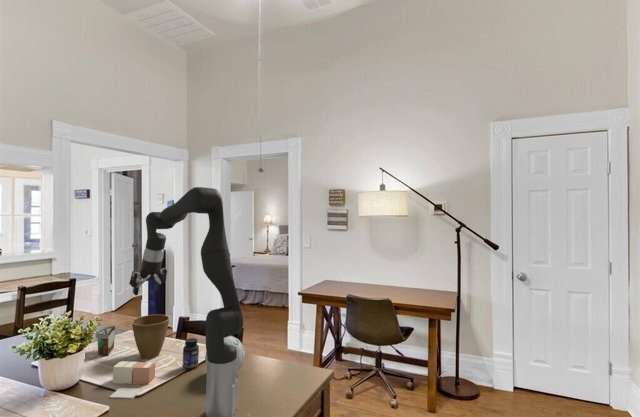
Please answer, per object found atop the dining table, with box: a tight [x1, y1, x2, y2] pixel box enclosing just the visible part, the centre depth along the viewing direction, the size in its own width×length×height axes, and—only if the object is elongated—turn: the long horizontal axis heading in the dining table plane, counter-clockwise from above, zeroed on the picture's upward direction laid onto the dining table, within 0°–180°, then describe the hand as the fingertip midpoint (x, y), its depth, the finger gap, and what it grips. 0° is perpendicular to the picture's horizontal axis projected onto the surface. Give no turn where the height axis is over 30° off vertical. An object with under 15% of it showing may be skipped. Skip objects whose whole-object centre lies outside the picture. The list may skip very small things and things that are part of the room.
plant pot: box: [131, 314, 170, 360], centre depth 153 cm, size 15×15×16 cm
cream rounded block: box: [112, 360, 140, 385], centre depth 130 cm, size 7×5×6 cm
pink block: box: [132, 361, 156, 385], centre depth 130 cm, size 6×4×6 cm
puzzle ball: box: [205, 335, 246, 373], centre depth 137 cm, size 15×15×15 cm
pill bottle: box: [182, 337, 200, 371], centre depth 143 cm, size 6×6×11 cm
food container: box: [95, 325, 116, 357], centre depth 155 cm, size 12×6×10 cm, turn 17°
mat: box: [108, 387, 142, 400], centre depth 120 cm, size 8×6×1 cm
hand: (145, 292), depth 146 cm, fingers open, 8 cm apart
